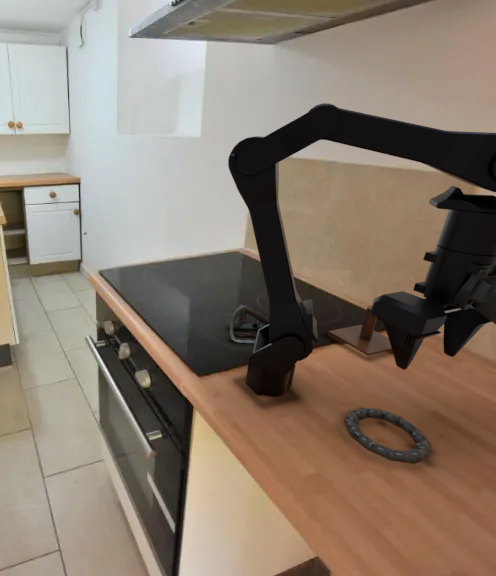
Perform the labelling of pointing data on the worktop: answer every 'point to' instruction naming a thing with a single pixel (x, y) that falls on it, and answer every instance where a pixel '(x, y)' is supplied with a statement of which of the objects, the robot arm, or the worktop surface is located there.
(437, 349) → the worktop surface
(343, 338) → the post
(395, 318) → the robot arm
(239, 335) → the grey curved frame
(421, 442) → the ring
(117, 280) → the worktop surface
